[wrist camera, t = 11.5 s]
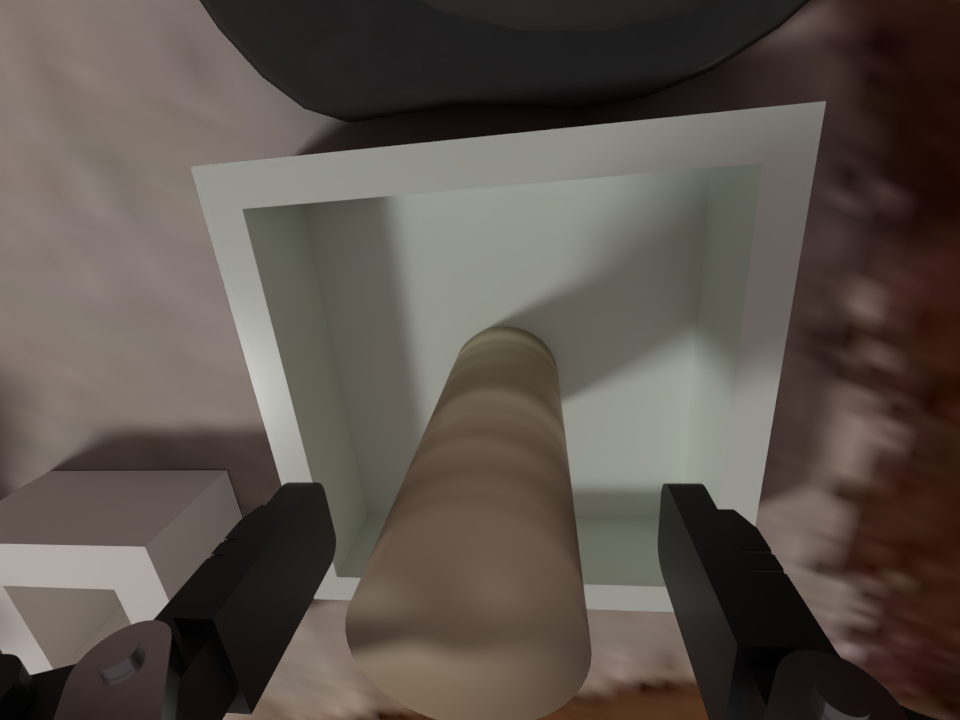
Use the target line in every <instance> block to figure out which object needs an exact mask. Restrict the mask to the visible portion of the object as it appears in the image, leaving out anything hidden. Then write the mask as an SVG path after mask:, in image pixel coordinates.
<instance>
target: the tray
mask: <svg viewBox="0 0 960 720" xmlns="http://www.w3.org/2000/svg"><path fill="white" fill-rule="evenodd" d="M825 105H826V101H821V102H811V103H802V104H792V105H783V106H773V107H763V108H754V109H744V110H734V111H725V112H715V113H705V114H696V115H686V116H676V117H667V118H657V119H647V120H638V121H628V122H618V123H609V124H599V125H589V126H580V127H570V128H560V129H551V130H541V131H531V132H522V133H512V134H503V135H493V136H483V137H474V138H464V139H454V140H445V141H435V142H425V143H416V144H406V145H396V146H387V147H377V148H367V149H358V150H348V151H338V152H329V153H319V154H309V155H300V156H290V157H280V158H271V159H261V160H251V161H242V162H232V163H223V164H213V165H203V166H194V167H191V171H192V174H193V178H194V181H195V185H196V188H197V192H198V195H199V199H200V202H201V206H202V209H203V213H204V216H205V220H206V223H207V227H208V230H209V234H210V237H211V241H212V244H213V247H214V251H215V254H216V258H217V261H218V265H219V268H220V272H221V275H222V279H223V282H224V286H225V289H226V293H227V296H228V300H229V303H230V307H231V310H232V314H233V317H234V321H235V324H236V328H237V331H238V335H239V338H240V342H241V345H242V349H243V352H244V356H245V359H246V363H247V366H248V370H249V373H250V377H251V380H252V384H253V387H254V391H255V394H256V398H257V401H258V405H259V408H260V412H261V415H262V419H263V422H264V425H265V429H266V432H267V436H268V439H269V443H270V446H271V450H272V453H273V457H274V460H275V464H276V467H277V471H278V474H279V478H280V481H281V485H284V484H285V483H287V482H318V483H320V484H322V486H323V487H324V490H325V494H326V498H327V502H328V506H329V510H330V514H331V518H332V522H333V526H334V530H335V534H336V550H335V555H334V559H333V561H332V564H331V566H330V568H329V569H328V571H327V573H326V575H325V577H324V579H323V581H322V583H321V585H320V586H319V588H318V590H317V592H316V594H315V596H314V599H327V600H352V597H353V595H354V593H355V590H356V588H357V586H358V583H359V581H360V579H361V577H362V574H363V572H364V570H365V567H366V565H367V563H368V560H369V558H370V556H371V554H372V551H373V549H374V547H375V544H376V542H377V540H378V537H379V535H380V533H381V531H382V528H383V526H384V524H385V521H386V519H387V517H388V515H389V512H390V510H391V508H392V505H393V503H394V501H395V498H396V496H397V494H398V492H399V489H400V487H401V485H402V482H403V480H404V478H405V475H406V473H407V471H408V469H409V466H410V464H411V462H412V459H413V457H414V455H415V452H416V450H417V448H418V446H419V443H420V441H421V439H422V436H423V434H424V432H425V430H426V427H427V425H428V423H429V420H430V418H431V416H432V413H433V411H434V409H435V407H436V404H437V402H438V400H439V397H440V395H441V393H442V390H443V388H444V386H445V384H446V381H447V379H448V377H449V374H450V372H451V370H452V368H453V365H454V363H455V361H456V358H457V356H458V354H459V352H460V350H461V349H462V347H463V346H464V345H465V343H466V342H467V341H468V340H469V339H471V338H472V337H473V336H475V335H476V334H478V333H480V332H482V331H484V330H487V329H490V328H494V327H515V328H519V329H523V330H525V331H528V332H530V333H532V334H533V335H535V336H536V337H538V338H539V339H540V340H542V341H543V342H544V343H545V344H546V346H547V347H548V348H549V349H550V351H551V353H552V354H553V356H554V359H555V361H556V365H557V371H558V379H559V387H560V395H561V404H562V412H563V420H564V428H565V437H566V445H567V453H568V461H569V470H570V478H571V486H572V494H573V503H574V511H575V519H576V527H577V536H578V544H579V552H580V560H581V569H582V577H583V585H584V593H585V602H586V609H600V610H627V611H655V612H674V610H673V607H672V604H671V600H670V597H669V594H668V591H667V588H666V585H665V582H664V579H663V576H662V572H661V568H660V564H659V557H658V529H659V515H660V501H661V490H662V486H663V484H664V483H702V484H703V485H704V486H705V487H706V489H707V491H708V492H709V494H710V496H711V498H712V500H713V501H714V503H715V505H716V507H717V508H718V509H734V510H735V511H737V512H738V513H739V514H740V515H742V516H743V517H744V518H745V519H747V520H748V521H749V522H750V523H751V524H753V525H754V526H755V524H756V518H757V512H758V506H759V500H760V494H761V488H762V482H763V476H764V470H765V464H766V458H767V452H768V446H769V441H770V435H771V429H772V423H773V417H774V411H775V405H776V399H777V393H778V387H779V381H780V375H781V369H782V363H783V357H784V351H785V345H786V339H787V333H788V327H789V321H790V315H791V309H792V303H793V297H794V291H795V285H796V279H797V273H798V267H799V261H800V255H801V249H802V243H803V237H804V231H805V225H806V219H807V213H808V207H809V201H810V195H811V189H812V183H813V177H814V171H815V165H816V159H817V153H818V147H819V141H820V135H821V129H822V123H823V117H824V111H825Z"/></svg>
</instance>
